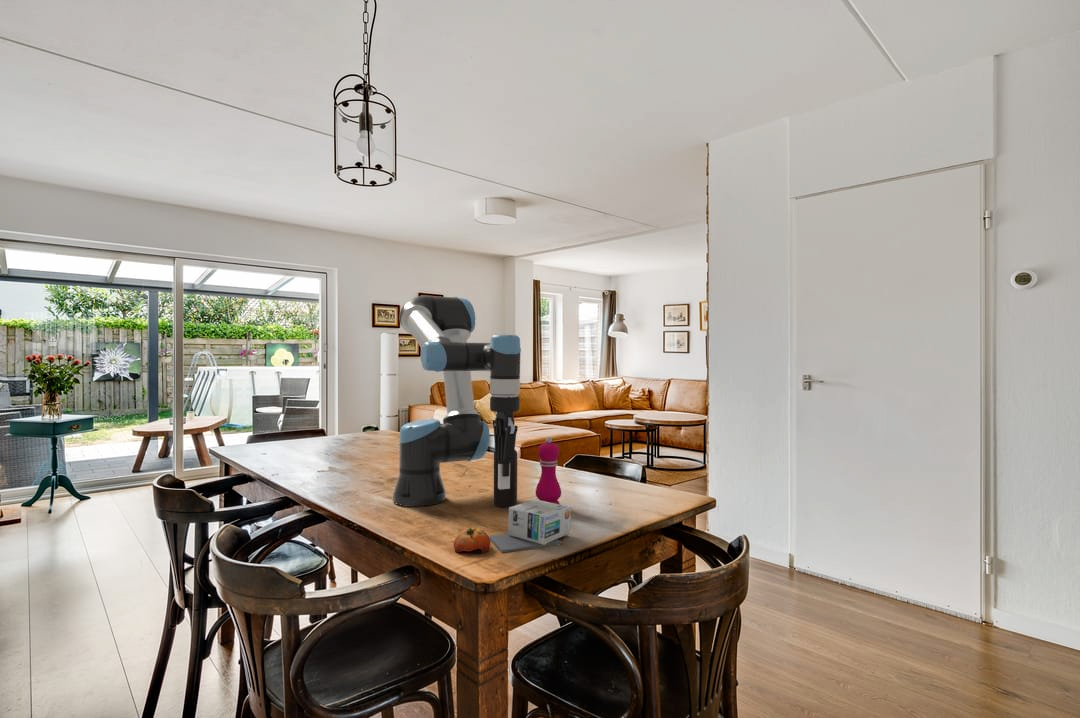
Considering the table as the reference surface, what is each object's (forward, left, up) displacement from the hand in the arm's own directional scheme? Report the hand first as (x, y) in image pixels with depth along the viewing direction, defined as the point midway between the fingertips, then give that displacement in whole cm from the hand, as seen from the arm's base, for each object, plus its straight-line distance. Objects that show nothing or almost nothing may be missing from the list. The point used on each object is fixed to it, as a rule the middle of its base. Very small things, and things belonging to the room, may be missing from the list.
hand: (503, 488), depth 135 cm
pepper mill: (-9, +16, -9) cm, 20 cm away
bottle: (-17, +6, -9) cm, 20 cm away
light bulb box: (+8, +2, -5) cm, 10 cm away
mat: (+14, 0, -9) cm, 17 cm away
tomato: (+15, -12, -9) cm, 21 cm away
